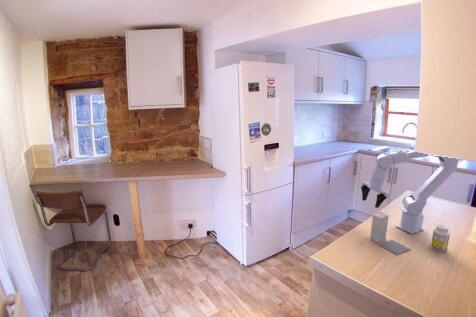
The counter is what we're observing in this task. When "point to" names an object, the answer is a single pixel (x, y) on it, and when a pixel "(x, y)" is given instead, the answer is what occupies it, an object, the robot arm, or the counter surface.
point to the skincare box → (379, 227)
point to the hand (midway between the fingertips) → (370, 203)
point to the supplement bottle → (440, 238)
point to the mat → (394, 247)
